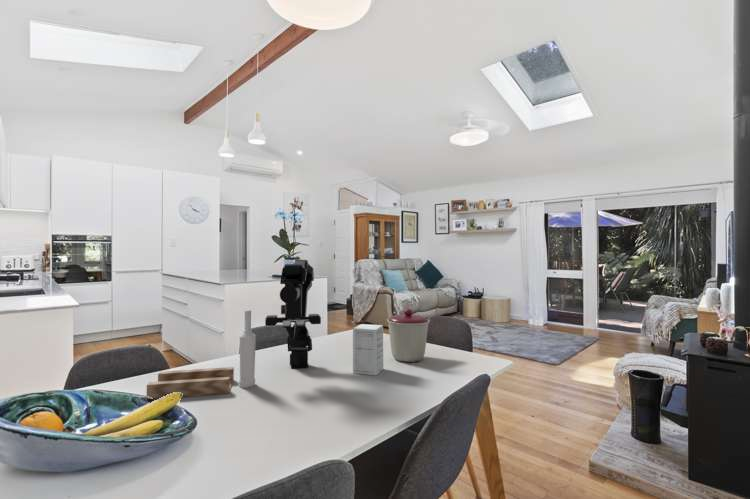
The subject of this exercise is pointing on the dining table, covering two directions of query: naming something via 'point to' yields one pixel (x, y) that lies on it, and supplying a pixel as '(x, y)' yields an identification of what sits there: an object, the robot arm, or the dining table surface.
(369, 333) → the supplement box
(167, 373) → the u rest
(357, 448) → the dining table surface
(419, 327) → the canister
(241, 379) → the bottle
